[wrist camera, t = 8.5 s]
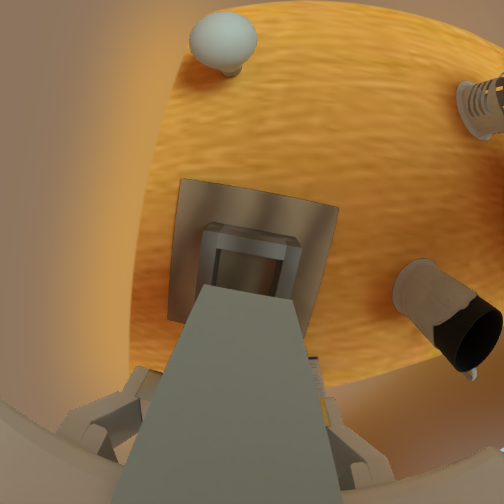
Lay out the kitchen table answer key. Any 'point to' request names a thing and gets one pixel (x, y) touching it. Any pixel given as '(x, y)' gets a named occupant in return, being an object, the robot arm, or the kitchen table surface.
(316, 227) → the socket
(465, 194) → the kitchen table surface
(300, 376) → the peg
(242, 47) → the lightbulb
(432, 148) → the kitchen table surface
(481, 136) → the french press
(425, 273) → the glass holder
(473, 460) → the robot arm
